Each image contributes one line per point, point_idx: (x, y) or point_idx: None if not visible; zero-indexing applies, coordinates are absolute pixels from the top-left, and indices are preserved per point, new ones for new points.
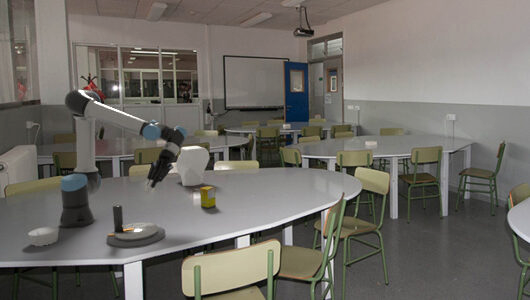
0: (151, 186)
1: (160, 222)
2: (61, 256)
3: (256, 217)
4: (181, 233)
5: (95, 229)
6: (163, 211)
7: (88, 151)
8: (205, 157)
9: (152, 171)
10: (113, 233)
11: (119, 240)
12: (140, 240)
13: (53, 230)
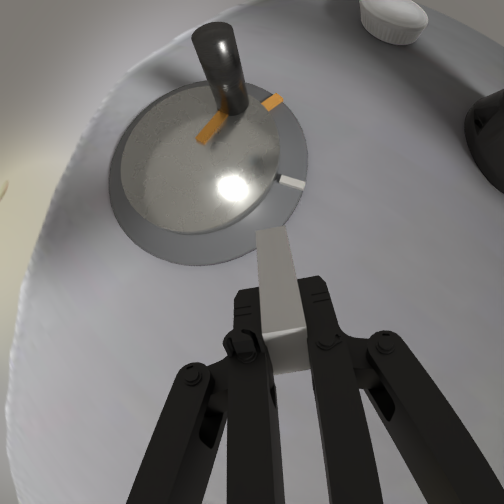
0: (253, 291)
1: None
2: (258, 11)
3: (52, 492)
4: (97, 280)
5: (408, 132)
6: (390, 442)
7: None
8: None
9: (423, 462)
10: (285, 117)
11: None
12: None
13: (381, 12)
